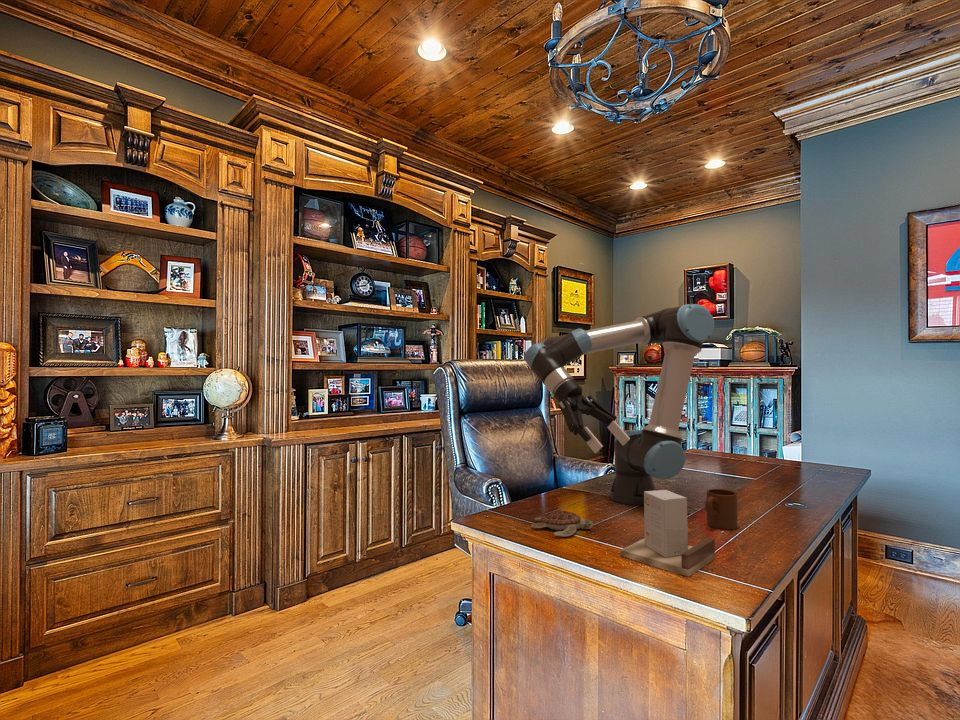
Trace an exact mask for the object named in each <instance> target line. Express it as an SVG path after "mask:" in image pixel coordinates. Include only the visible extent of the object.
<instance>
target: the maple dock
mask: <svg viewBox="0 0 960 720" xmlns="http://www.w3.org/2000/svg"><path fill="white" fill-rule="evenodd" d="M715 541H716V539H715V538H711V537H707V538H705V539H703V540H701V541H700V542H698V543H697V544H695V545H693V546H692V545H688V550H687V551H685V552H683V553H682V554H681V555H679V556H671V557H664V556H662V555H660V554H659V553H657V552H655V551H654V550H652V549H650V548H649V547H647V546H645V538H642V539H640V540H638V541H636V542H634V543H632V544H630V545H627V546H626V547H623V548H622V549H620V557H621V556H623V557H622V558H625V557H627V558H626V559H628V558H629V559H628V560H631V559H632V561H635V560H636V561H635V562H638V561H639V563H641V562H642V563H641V564H644V563H645V564H644V565H648V564H649V565H648V566H651V567H654V566H655V567H654V568H657V569H660V570H661V569H662V570H664V571H667V572H671V573H674V574H676V575H677V574H678V575H682V576H684V577H687V578H688V577H690V576H692V575H694V574H695V573H697V572H698V571H700V569H701V570H702V568H704V567H706V566H707V565H709V563H711V562H713V560H716V542H715ZM693 573H694V574H693Z"/></svg>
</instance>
